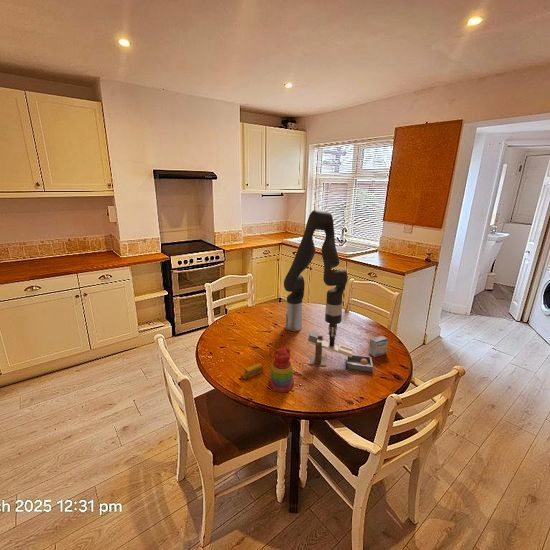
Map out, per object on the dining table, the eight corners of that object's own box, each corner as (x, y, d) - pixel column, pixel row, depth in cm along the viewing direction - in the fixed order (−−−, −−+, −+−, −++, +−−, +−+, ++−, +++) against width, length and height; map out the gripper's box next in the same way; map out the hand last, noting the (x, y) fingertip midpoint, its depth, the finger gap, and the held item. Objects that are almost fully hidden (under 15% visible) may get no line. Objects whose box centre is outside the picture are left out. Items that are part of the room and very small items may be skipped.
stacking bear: (293, 377, 133) (293, 342, 128) (295, 392, 124) (296, 354, 119) (269, 378, 133) (268, 342, 128) (269, 393, 123) (269, 355, 118)
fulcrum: (309, 364, 143) (310, 342, 140) (310, 355, 151) (311, 334, 147) (326, 366, 141) (327, 343, 138) (327, 357, 149) (328, 335, 146)
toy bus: (241, 377, 134) (240, 369, 133) (259, 369, 140) (259, 362, 139) (244, 380, 132) (244, 373, 131) (262, 372, 137) (262, 365, 136)
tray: (345, 369, 139) (346, 363, 138) (345, 359, 148) (345, 353, 147) (372, 372, 137) (373, 366, 136) (370, 361, 145) (371, 356, 144)
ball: (359, 365, 140) (362, 359, 139) (359, 361, 143) (361, 356, 142) (366, 367, 140) (368, 362, 139) (365, 364, 143) (368, 358, 142)
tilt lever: (307, 342, 141) (309, 335, 140) (308, 337, 147) (310, 330, 145) (351, 357, 139) (354, 350, 137) (351, 351, 144) (353, 344, 143)
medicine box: (374, 357, 149) (376, 342, 146) (368, 353, 153) (369, 338, 150) (386, 353, 152) (388, 338, 150) (379, 349, 156) (381, 334, 154)
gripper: (326, 305, 144) (324, 338, 149) (324, 317, 132) (323, 351, 137) (341, 307, 143) (340, 339, 148) (342, 318, 130) (339, 353, 135)
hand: (331, 345), depth 142 cm, fingers closed
